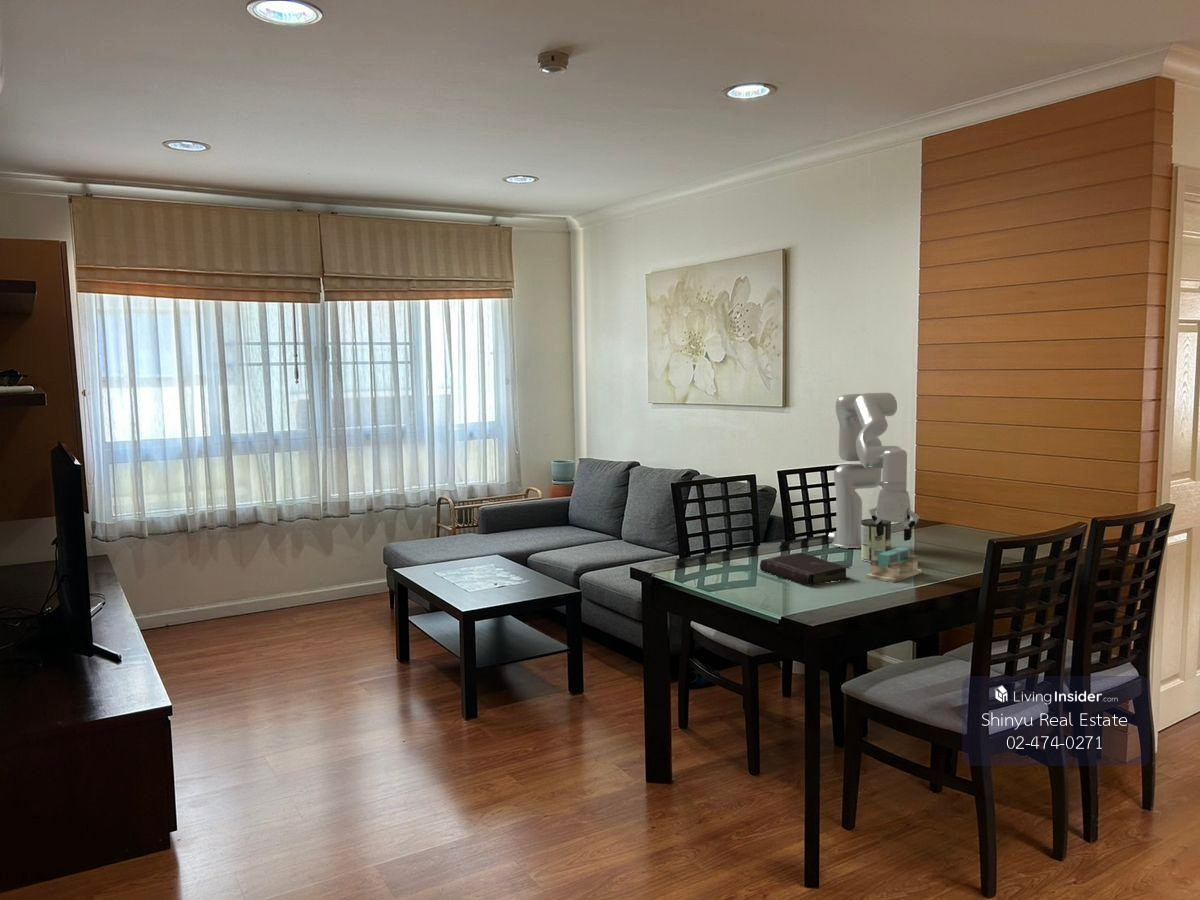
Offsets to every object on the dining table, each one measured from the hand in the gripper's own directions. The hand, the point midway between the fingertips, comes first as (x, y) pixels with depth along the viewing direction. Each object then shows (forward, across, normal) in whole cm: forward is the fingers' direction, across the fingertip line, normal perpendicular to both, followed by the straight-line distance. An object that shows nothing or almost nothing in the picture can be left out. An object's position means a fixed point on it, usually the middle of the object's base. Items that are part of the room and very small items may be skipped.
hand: (893, 537), depth 284 cm
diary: (+13, -21, -20) cm, 32 cm away
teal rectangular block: (+8, +1, -1) cm, 8 cm away
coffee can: (+13, -15, +15) cm, 25 cm away
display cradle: (+12, +1, -1) cm, 12 cm away
